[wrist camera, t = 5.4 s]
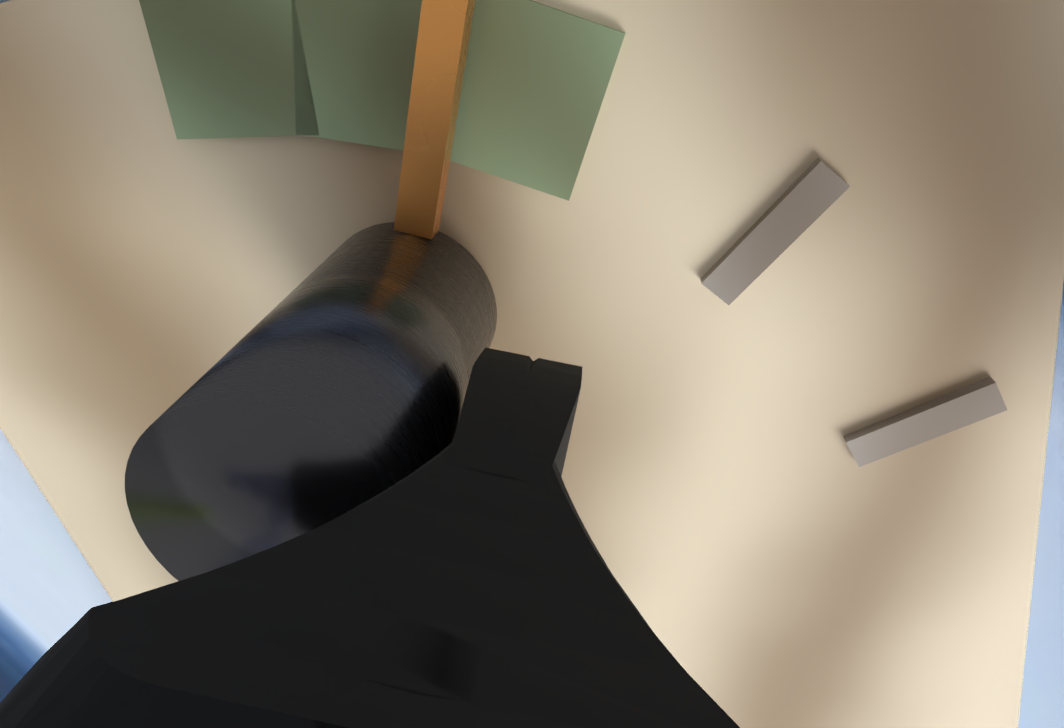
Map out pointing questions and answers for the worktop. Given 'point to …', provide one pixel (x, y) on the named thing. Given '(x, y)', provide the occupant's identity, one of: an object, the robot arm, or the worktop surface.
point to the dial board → (604, 291)
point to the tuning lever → (331, 365)
